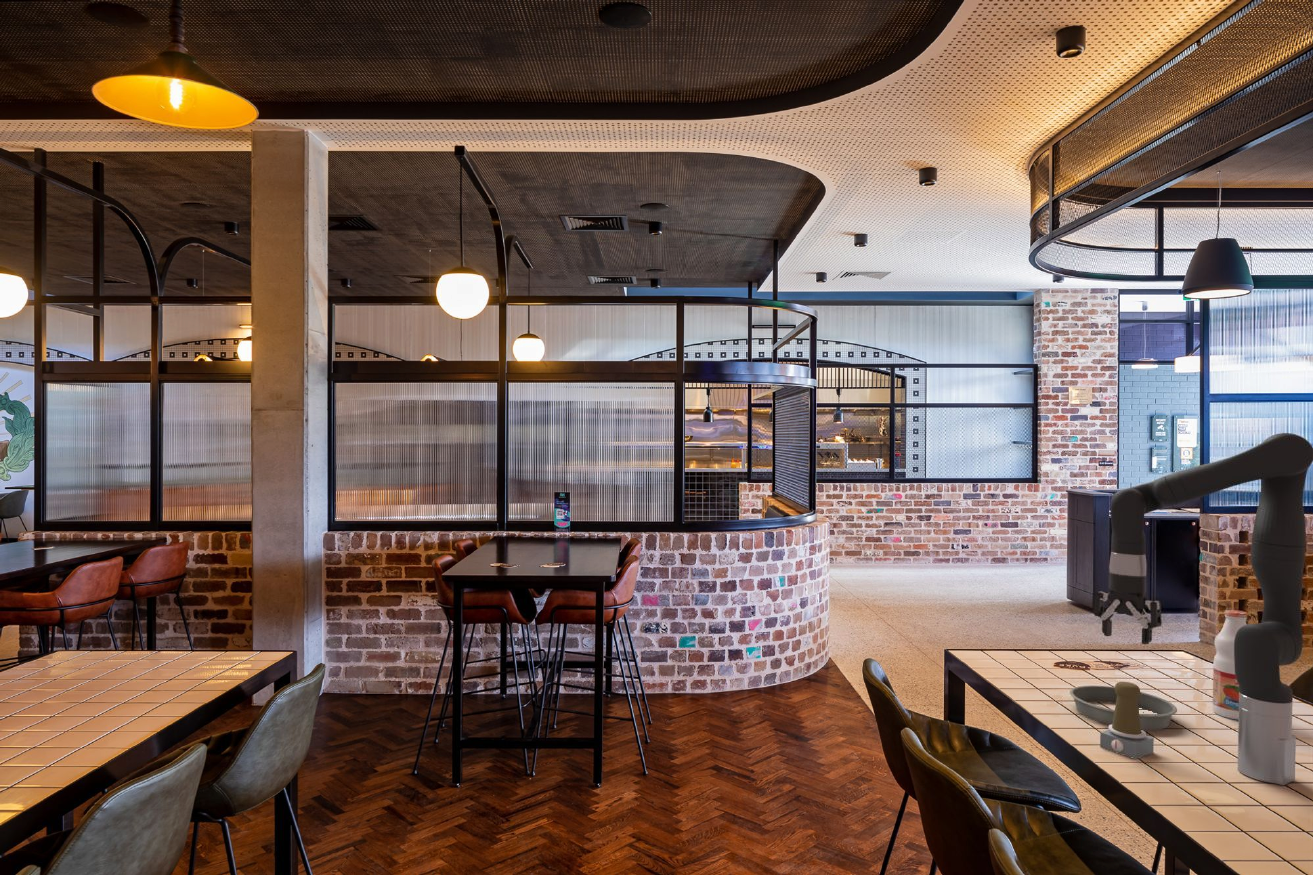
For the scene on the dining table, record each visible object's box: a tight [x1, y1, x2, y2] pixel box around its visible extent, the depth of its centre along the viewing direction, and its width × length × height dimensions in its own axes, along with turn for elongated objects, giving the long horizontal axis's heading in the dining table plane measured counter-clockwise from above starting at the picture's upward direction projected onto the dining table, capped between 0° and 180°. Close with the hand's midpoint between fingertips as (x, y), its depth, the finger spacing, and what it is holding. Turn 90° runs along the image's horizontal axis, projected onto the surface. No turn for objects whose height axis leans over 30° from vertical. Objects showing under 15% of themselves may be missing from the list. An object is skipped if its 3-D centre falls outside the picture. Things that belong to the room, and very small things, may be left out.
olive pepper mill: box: [1112, 681, 1142, 735], centre depth 181 cm, size 6×6×11 cm
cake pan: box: [1069, 685, 1178, 731], centre depth 205 cm, size 25×25×4 cm
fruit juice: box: [1212, 609, 1248, 721], centre depth 207 cm, size 9×9×28 cm
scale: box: [1099, 724, 1155, 760], centre depth 181 cm, size 8×8×5 cm
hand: (1126, 639), depth 183 cm, fingers open, 8 cm apart
